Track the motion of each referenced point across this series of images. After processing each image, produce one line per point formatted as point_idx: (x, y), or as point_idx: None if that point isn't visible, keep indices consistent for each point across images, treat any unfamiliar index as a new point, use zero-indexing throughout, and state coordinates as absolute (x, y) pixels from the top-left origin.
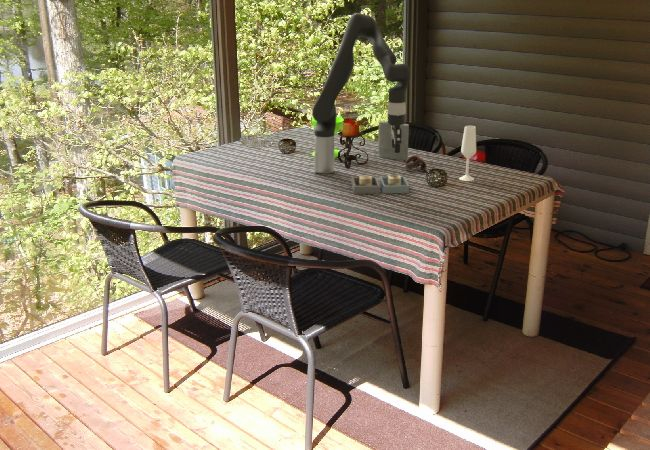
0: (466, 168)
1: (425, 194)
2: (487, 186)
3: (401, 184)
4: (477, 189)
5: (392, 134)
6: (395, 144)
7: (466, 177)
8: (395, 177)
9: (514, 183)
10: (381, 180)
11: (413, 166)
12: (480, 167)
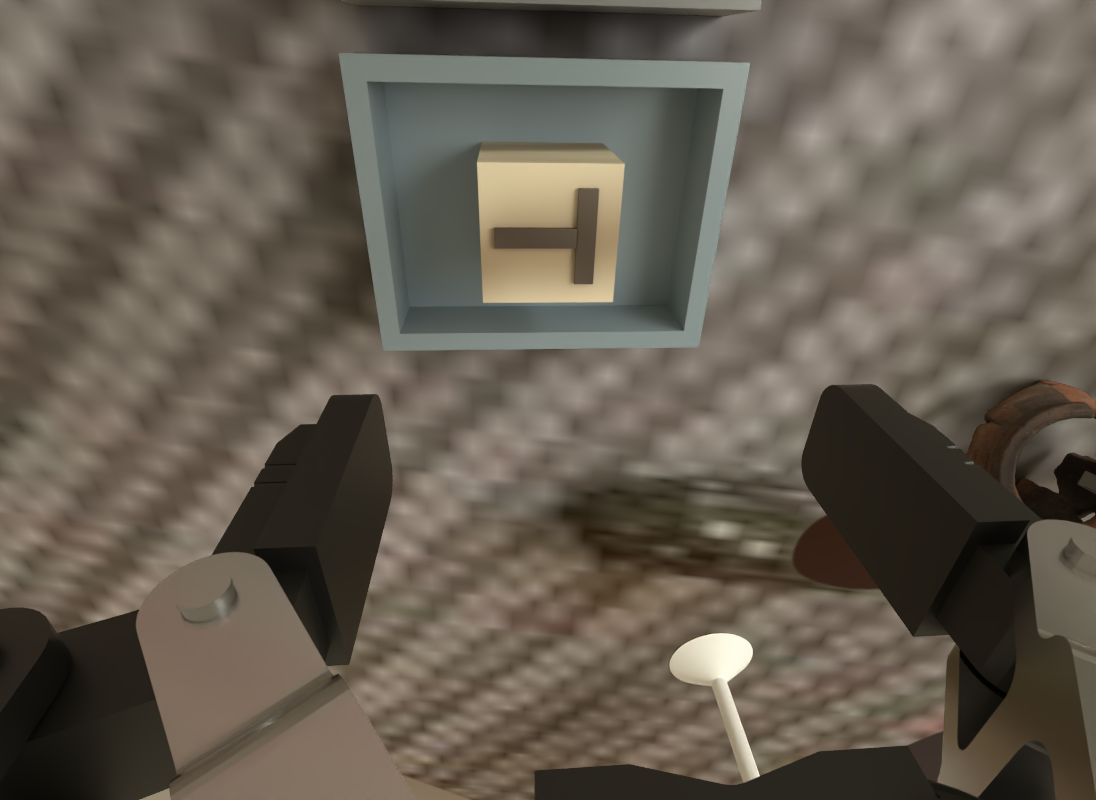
0: (729, 720)
1: (399, 432)
2: (560, 713)
3: (644, 290)
4: (510, 678)
5: (1044, 742)
6: (256, 562)
7: (696, 670)
8: (509, 245)
9: None
10: (596, 62)
11: (984, 451)
12: (885, 720)
